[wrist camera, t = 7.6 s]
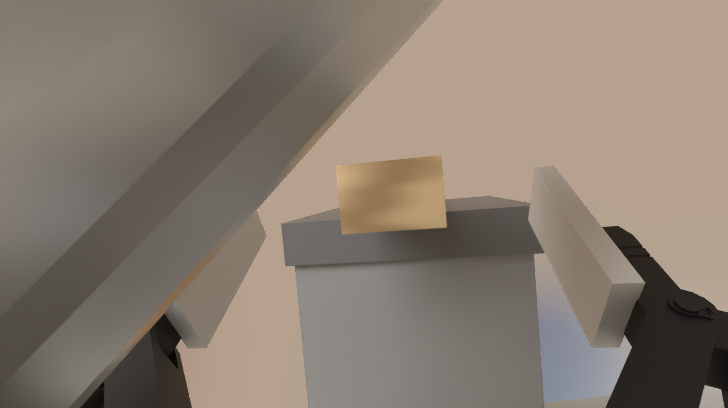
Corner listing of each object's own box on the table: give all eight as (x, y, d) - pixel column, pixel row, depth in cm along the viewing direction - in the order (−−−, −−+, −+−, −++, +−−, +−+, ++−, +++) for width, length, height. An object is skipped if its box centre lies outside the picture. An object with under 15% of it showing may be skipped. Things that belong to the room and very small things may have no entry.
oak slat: (432, 202, 34) (429, 172, 34) (446, 227, 14) (441, 155, 14) (387, 206, 35) (384, 176, 35) (341, 234, 15) (335, 165, 15)
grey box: (507, 458, 39) (488, 196, 38) (571, 664, 22) (541, 204, 21) (360, 452, 42) (339, 207, 41) (320, 629, 25) (281, 223, 24)
